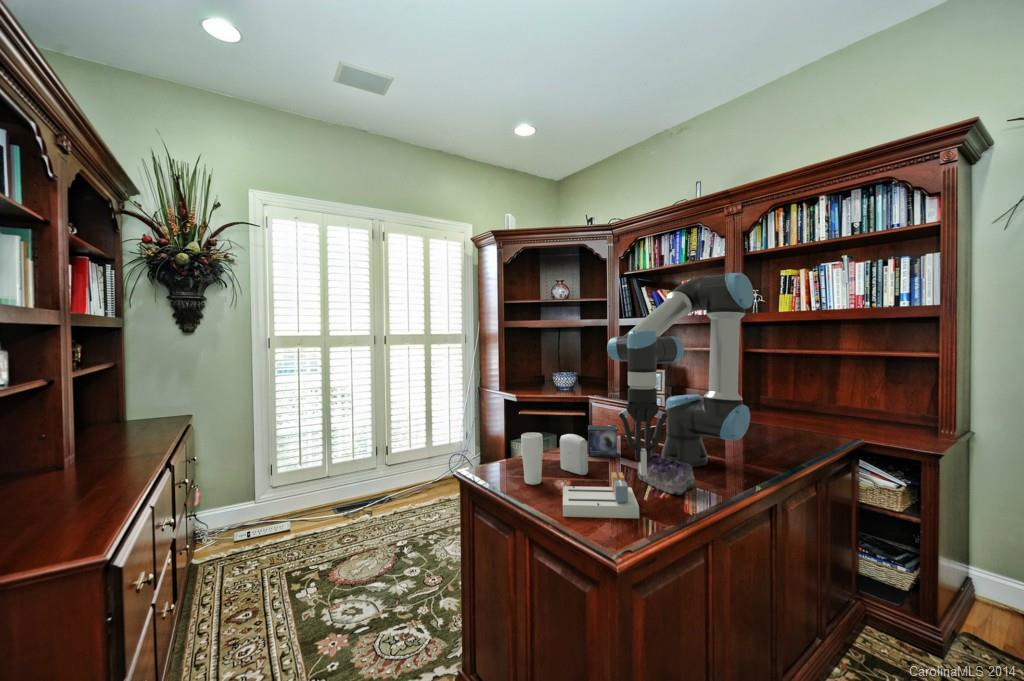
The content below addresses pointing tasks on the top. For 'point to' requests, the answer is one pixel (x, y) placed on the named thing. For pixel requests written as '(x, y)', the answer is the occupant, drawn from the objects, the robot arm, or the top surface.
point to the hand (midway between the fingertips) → (643, 473)
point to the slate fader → (620, 491)
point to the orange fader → (616, 478)
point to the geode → (668, 475)
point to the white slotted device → (573, 454)
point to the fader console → (597, 503)
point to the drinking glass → (532, 457)
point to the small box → (602, 441)
